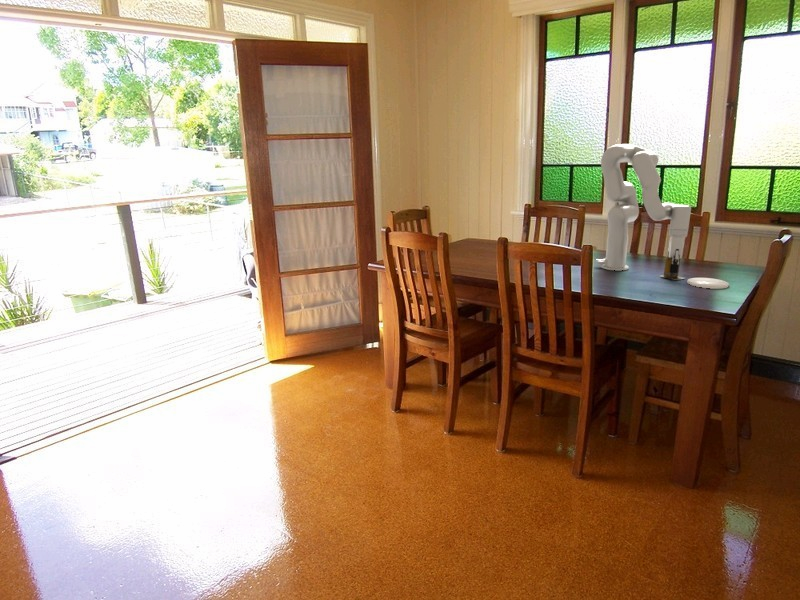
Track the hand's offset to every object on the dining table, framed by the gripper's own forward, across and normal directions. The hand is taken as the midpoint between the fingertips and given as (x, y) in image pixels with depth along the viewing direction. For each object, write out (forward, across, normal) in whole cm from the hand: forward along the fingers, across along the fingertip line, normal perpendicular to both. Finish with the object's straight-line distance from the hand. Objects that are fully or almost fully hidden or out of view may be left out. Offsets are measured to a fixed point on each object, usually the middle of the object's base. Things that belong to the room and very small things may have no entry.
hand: (672, 270), depth 250 cm
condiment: (+3, +1, 0) cm, 3 cm away
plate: (+3, +8, +14) cm, 16 cm away
